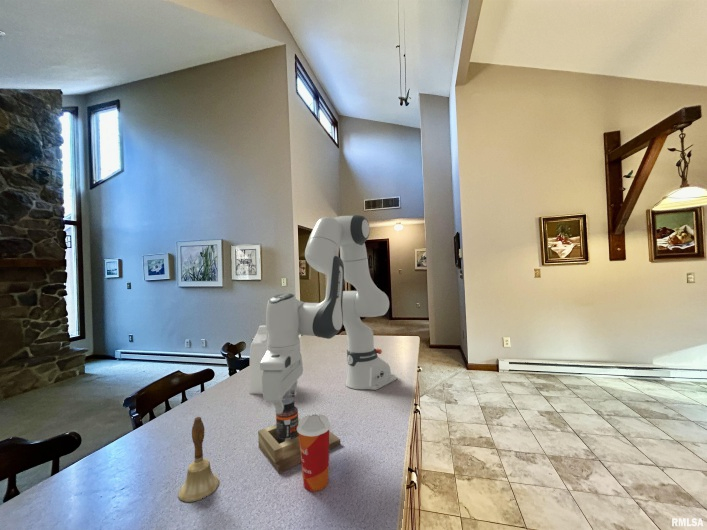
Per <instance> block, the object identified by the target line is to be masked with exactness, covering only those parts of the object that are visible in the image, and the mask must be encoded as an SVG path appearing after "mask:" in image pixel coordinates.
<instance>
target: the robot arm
mask: <svg viewBox="0 0 707 530" xmlns="http://www.w3.org/2000/svg"><path fill="white" fill-rule="evenodd" d="M370 229H371V228H370V223H369V221H368V219H367V218H366V217H365V216H364V215H358V214H355V215H339V216H335V217H333V216H332V217H331V216H323V217H320V218H319V219H318V220H317V221H316V223H315V225H314V226H313V228H312V230H311V233H310V234H309V238H308V240H307V243H306V247H305V250H304V258H305V261H306V263H307V264H308V265H309V266H310V267H311V268H312V269H313V270H314V271H316V272H318V273H321V274H323V275H325V276H326V278H327V279H326V288H325V298H324V300H323V301H321V302H306V301H305V302H304V301H303V300H299V299H298V298H297V297H296V295H295V294H294V293H280V294H275V295H274V296H272V297H271V298H269V299H268V301H267V302H266V303H267V304H266V310H265V326H266V329H267V332H268V341H267V351H266V354H265V356H264V357H263V359H262V361H261V362H260V370H264V371H263V373H262V390H263V393H262V397H263V400H264V401H265V402H266V403H270V404H271V403H273V405H274V408H275V409H274V410H275V414H276V413H277V414H281V413H282V412H283V411H284V404H282V400H283V399H284V398H283V397H284V396H285V395H286V394H287V393H288V398H295V396H297V388H298V382H299V381H298V380H299V379H300V378H301V376H302V375H303V373H304V367H303V365H304V364H303V357H302V352H301V339H300V337H299V336H301V335H302V336H309V337H317V338H322V339H327V340H330V339H332V338H334V337H335V336H336V335H337V334H339V333H340V331H341V330H342V327H343V326H344V327H343V328H344V329H345V332H346V339H347V341H346V343H347V349H346V358H347V360H346V361H347V374H346V375H347V376H346V380H345V387H348V388H350V389H354V390H375V391H376V390H378V389H380V388H383V387H385V386H387V385H388V384H390V383H393V382H394V381H396V380H397V375H395V374H394V373H392V371H391V367H390V365H389V363H387V362H386V361H385V360H383V359H381V358H380V357H379V356H378V354H379V355H382V353H383V350H382V349H381V348H375V342H374V341H375V340H374V339H375V338H374V331H373V329H372V328H371V327H370V326H368V325H367V324H365V323H364V322H363V321H362V319H361V318H375V317H376V318H377V317H382V316H384V315H386V314H387V312H388V310H389V308H390V300H389V296H388V295H387V294H386V293H385V291H382V290H381V289H380V288H378V287H377V285H376V284H375V283H374V281H373V279H372V277H371V273H370V268H369V261H368V252H367V247H366V243H365V242H366V241H367V240H368V238H369V237H370V231H371V230H370ZM339 255H340V257H339ZM344 281H345V282H347V283H348V284H350V285H351V286H353V287H354V288H355V290H344V285H345V284H344Z"/></svg>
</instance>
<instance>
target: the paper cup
mask: <svg viewBox="0 0 707 530" xmlns="http://www.w3.org/2000/svg"><path fill="white" fill-rule="evenodd" d="M300 419H301V420H300V421H299V423H298V426H297V432H298V433H299V443H300V453H301V463H300V464H301V472H302V480H303V481H302V482H303V487H304V489H305V490H306V491H309V492H311V493H312V492H313V493H316V492H319V491H323V490H324V489H325V488H326V487H327V486H328V483H329V477H330V476H329V474H330V471H329V470H330V468H329V467H330V450H329V431H330V429H331V425H332V424H331V422H330V420H329V418H328V416H326V414H325V415H324V414H321V413H319V414H311V415H310V414H308V415H305V416H303V417H301V418H300Z"/></svg>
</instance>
